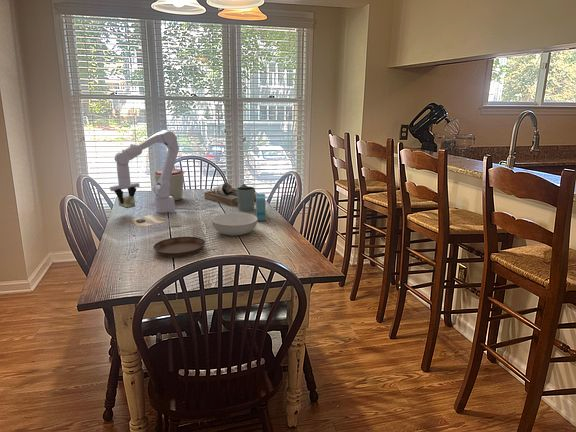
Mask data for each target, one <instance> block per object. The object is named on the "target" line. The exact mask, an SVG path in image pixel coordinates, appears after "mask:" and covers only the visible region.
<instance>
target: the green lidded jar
mask: <svg viewBox="0 0 576 432" xmlns="http://www.w3.org/2000/svg"><path fill="white" fill-rule="evenodd" d="M236 189H237V196H236V197H238V205H237V207H238V211H240V212H251V211H254V209H255V201H254V196H255V194H256V187H254V186H248V187H241V186H239V187H237V188H236Z"/></svg>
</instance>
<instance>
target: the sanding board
mask: <svg viewBox="0 0 576 432" xmlns="http://www.w3.org/2000/svg"><path fill="white" fill-rule="evenodd" d="M138 219H144V220H145V222H142V223H138V222H136V220H138ZM125 222H128V223H130V224H132V225H133V224H134V225H135V226H138V227H140V228H144V227H148V226H153V225H157V224H163V223H166V222H167V223H168V222H170V220H169V219H166V218H164V217H161V216H159V215H156V214H153V213H152V214H148V215H144V216H139V217H133V218H129V219H125Z"/></svg>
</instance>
